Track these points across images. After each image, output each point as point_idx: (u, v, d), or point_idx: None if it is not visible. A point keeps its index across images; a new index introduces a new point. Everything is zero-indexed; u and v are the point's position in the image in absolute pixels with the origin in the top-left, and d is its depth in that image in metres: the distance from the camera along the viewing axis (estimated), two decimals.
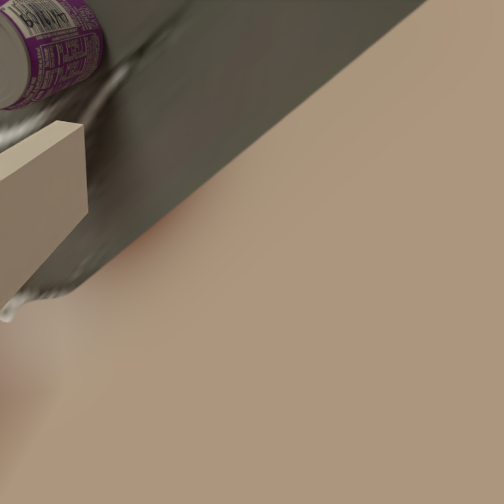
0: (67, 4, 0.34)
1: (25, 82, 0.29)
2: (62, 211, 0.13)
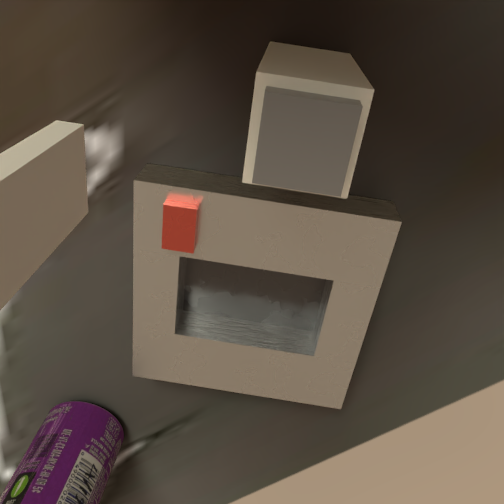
0: (95, 443, 0.39)
1: None
2: (62, 211, 0.13)
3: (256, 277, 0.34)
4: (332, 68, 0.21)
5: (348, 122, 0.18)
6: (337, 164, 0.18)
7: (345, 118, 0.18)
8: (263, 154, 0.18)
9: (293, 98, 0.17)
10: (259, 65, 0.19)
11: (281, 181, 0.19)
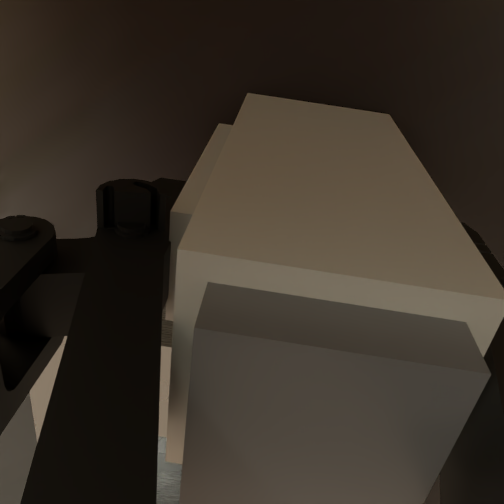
0: None
1: None
2: None
3: None
4: (372, 182, 0.10)
5: (442, 407, 0.06)
6: (401, 485, 0.07)
7: (434, 398, 0.06)
8: (203, 456, 0.07)
9: (280, 347, 0.06)
10: (198, 204, 0.08)
11: None
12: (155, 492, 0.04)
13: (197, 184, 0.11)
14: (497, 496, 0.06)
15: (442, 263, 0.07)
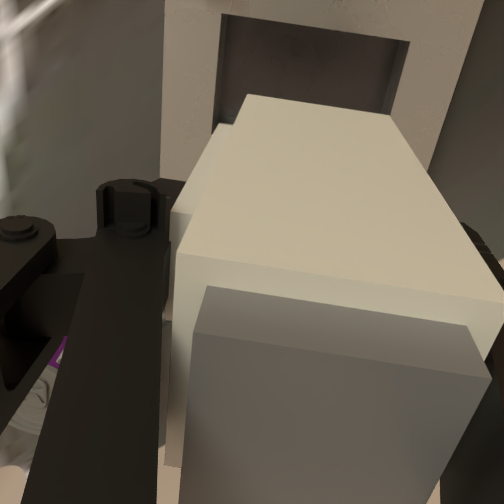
0: None
1: None
2: None
3: (308, 68, 0.29)
4: (372, 184, 0.09)
5: (443, 412, 0.06)
6: (401, 489, 0.07)
7: (435, 402, 0.06)
8: (202, 460, 0.07)
9: (280, 351, 0.06)
10: (197, 206, 0.08)
11: None
12: (155, 492, 0.04)
13: (197, 184, 0.11)
14: (497, 496, 0.06)
15: (442, 266, 0.07)
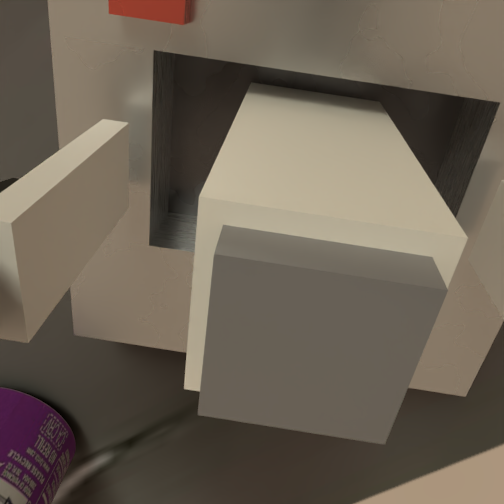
0: (16, 459, 0.22)
1: None
2: (110, 205, 0.13)
3: None
4: (360, 154, 0.11)
5: (411, 320, 0.08)
6: (380, 392, 0.08)
7: (405, 312, 0.07)
8: (218, 369, 0.08)
9: (282, 270, 0.07)
10: (213, 166, 0.09)
11: (258, 415, 0.09)
12: None
13: (26, 185, 0.09)
14: None
15: (414, 212, 0.09)
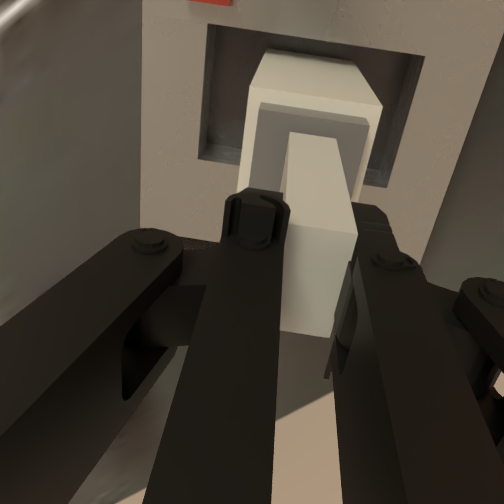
0: None
1: None
2: None
3: None
4: (335, 80, 0.19)
5: (353, 143, 0.16)
6: None
7: (350, 139, 0.16)
8: (257, 178, 0.16)
9: (291, 117, 0.15)
10: (253, 78, 0.17)
11: None
12: None
13: (297, 195, 0.11)
14: (385, 477, 0.06)
15: (358, 98, 0.17)
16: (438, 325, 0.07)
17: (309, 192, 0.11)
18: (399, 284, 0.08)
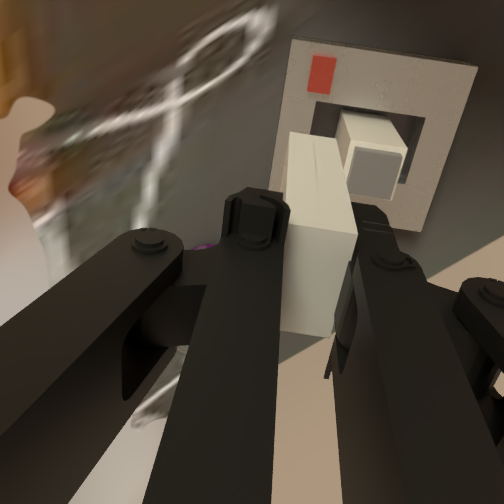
0: None
1: None
2: None
3: None
4: (383, 132, 0.40)
5: (395, 164, 0.37)
6: (389, 184, 0.38)
7: (394, 162, 0.37)
8: (352, 179, 0.38)
9: (369, 153, 0.37)
10: (349, 134, 0.39)
11: (360, 192, 0.38)
12: None
13: (297, 195, 0.11)
14: (385, 477, 0.06)
15: (396, 144, 0.38)
16: (438, 325, 0.07)
17: (309, 192, 0.11)
18: (399, 284, 0.08)
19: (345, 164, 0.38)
